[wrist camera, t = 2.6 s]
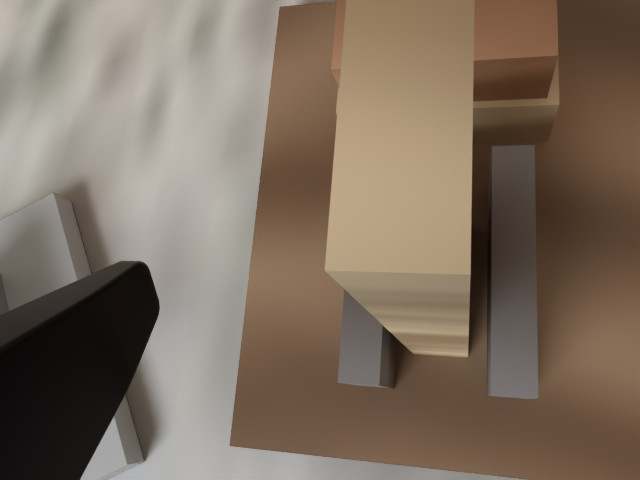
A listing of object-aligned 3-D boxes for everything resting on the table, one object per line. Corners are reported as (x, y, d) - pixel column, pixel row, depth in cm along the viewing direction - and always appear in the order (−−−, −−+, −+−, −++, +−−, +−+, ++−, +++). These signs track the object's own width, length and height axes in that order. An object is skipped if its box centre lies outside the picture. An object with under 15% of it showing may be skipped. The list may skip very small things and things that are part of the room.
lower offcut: (548, 140, 17) (559, 104, 15) (350, 145, 19) (335, 113, 17) (545, 23, 18) (555, -26, 16) (358, 37, 20) (345, -6, 18)
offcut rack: (676, 491, 15) (745, 521, 11) (242, 443, 18) (182, 454, 14) (640, -6, 19) (684, -108, 15) (287, 24, 22) (250, -56, 18)
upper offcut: (547, 98, 15) (558, 55, 13) (346, 107, 17) (330, 69, 15) (544, -19, 16) (554, -74, 14) (354, -1, 17) (341, -50, 16)
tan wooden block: (468, 357, 16) (470, 275, 6) (413, 354, 16) (324, 270, 6) (470, 220, 17) (475, -60, 7) (418, 219, 17) (349, -45, 7)
